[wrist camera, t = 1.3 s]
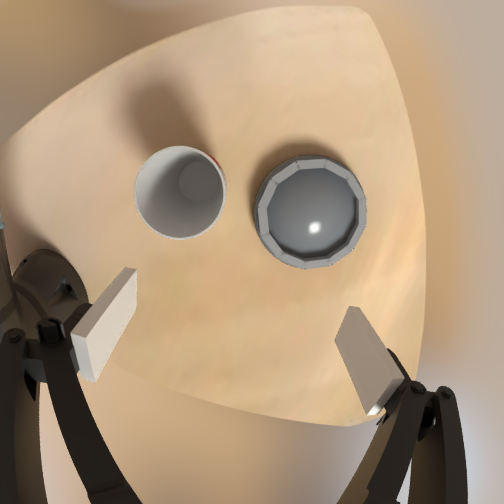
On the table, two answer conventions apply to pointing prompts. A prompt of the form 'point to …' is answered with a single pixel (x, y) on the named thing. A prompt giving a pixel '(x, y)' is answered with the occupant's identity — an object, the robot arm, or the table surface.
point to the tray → (310, 211)
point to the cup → (180, 192)
